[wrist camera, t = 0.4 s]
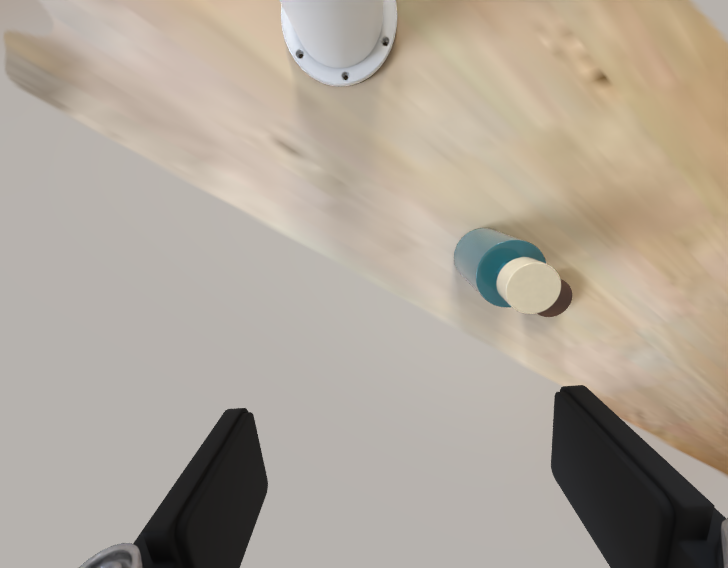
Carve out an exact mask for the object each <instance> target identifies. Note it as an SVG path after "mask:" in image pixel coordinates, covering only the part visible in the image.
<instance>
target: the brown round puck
mask: <svg viewBox="0 0 728 568" xmlns="http://www.w3.org/2000/svg"><path fill="white" fill-rule="evenodd" d="M560 280H561V279H560ZM571 300H572V290H571V288H570V286H569V285H568V284H567V283H566V282H565V281H563V280H561V291H560V294H559V296H558V298H557V300H556V301H555V302H554V304H553V305H552V306H550V307H549V308H548V309H546V310H544V311H542V312H540V313H537V314H539V315H541V316H544V317H553V316H557V315H559V314H561V313H562V312H564V311H565V310H566V309H567V308H568V306H569V305H570V303H571Z"/></svg>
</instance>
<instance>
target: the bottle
mask: <svg viewBox="0 0 728 568" xmlns="http://www.w3.org/2000/svg"><path fill="white" fill-rule="evenodd" d="M454 262H455V266H456V268H457V270H458V272H459V273H460V274H461V275H462V276H463V277H464V278H465V279H466V280H467V281H468V282H469V283H470V284H471V285H472V286H473V287H474V288H475V289H476V290H477V291H478V292H479V293H480V294H481V296H482V297H483V298H485V299H486V300H487V301H488V302H490V303H491V304H493V305H496V306H500V307H512V308H513V309H515V310H516V311H518V312H521V313H524V314H536V313H540V312H542V311H544V310H546V309H548V308H549V307H550V306H552V305H553V304H554V302H555V301H556V300H557V298H558V296H559V294H560V291H561V280H560V276H559V274H558V273H557V271H556V270H555V269H554V268H553V267H551V266H550V265H548V264H546V261H545V258H544V256H543V254H542V252H541V251H540V250H539V249H538V248H537V247H536V246H534V245H533V244H531V243H529V242H526V241H524V240H521V239H518V238H515V237H513V236H510V235H507V234H504V233H502V232H499V231H496V230H493V229H490V228H479V229H475V230H473V231H470V232H469V233H467V234H466V235H465V236H463V237H462V238H461V240H460V241H459V243H458V244H457V246H456V249H455V253H454Z"/></svg>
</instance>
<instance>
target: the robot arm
mask: <svg viewBox="0 0 728 568" xmlns="http://www.w3.org/2000/svg"><path fill="white" fill-rule="evenodd" d="M280 2H281V4H282V8H281V22H282V30H283V34H284V38H285V42H286V44H287V46H288V49H289V51H290V53H291V55H292V56H293V58H294V60H295V61H296V62H297V64H298V65H299V66H300V67H301V69H302V70H303V71H305V72H306V73H307V74H308V75H309V76H310V77H312V78H314V79H315V80H317V81H319V82H321V83H324V84H327V85H330V86H338V87H342V86H351V85H354V84H357V83H360V82H362V81H364V80H365V79H367V78H369V77H370V76H371V75H373V74H374V73H375V72H376V71H377V70H378V69H379V68H380V67H381V65H382V64H383V63H384V62H385V60H386V58H387V56H388V54H389V53H390V51H391V48H392V45H393V42H394V39H395V34H396V28H397V5H396V0H280ZM385 42H386V43H387V46H383V43H385ZM300 55H303V58H301V59H300V58H299V56H300ZM345 76H347V77H348V79H347V80H344V77H345ZM551 469H552V473H553V475H554V478H555V480H556V481H557V483H558V484H559V486H560V487H561V489H562V491H563V492H564V494H565V496H566V497H567V499H568V500H569V502H570V504H571V505H572V507H573V508H574V510H575V512H576V513H577V515H578V516H579V518H580V520H581V521H582V523H583V524H584V526H585V528H586V529H587V531H588V532H589V534H590V535H591V537H592V539H593V540H594V542H595V544H596V545H597V547H598V548H599V550H600V551H601V553H602V554H603V556H604V558H605V559H606V561H607V563H608V564H609V566H610V567H611V568H728V518H727V519H726V518H725V517H724V516H723V515H722V514H720V512H719V511H717V510H716V509H715V508H714V505H713V504H712V503H711V502H710V501H709V500H708V499H707V498H706V497H705V496H703V495H702V494H701V493H700V492H699V491H698V490H697V489H696V488H695V487H694V486H693V485H692V484H691V483H689V482H688V481H687V480H686V479H685V478H684V477H683V476H682V475H681V474H679V472H678V471H676V470H675V469H674V468H673V467H672V466H671V465H670V464H669V463H668V462H667V461H666V460H665V459H663V458H662V457H661V456H660V455H659V454H658V453H657V452H656V451H655V450H654V449H653V448H651V447H650V446H649V445H648V444H647V443H646V442H645V441H644V440H643V439H642V438H640V436H639V435H638V434H636V433H635V432H634V431H633V430H632V429H631V428H630V427H629V426H628V425H627V424H626V423H625V422H623V421H622V420H621V419H620V418H619V417H618V416H617V415H616V414H615V413H614V412H613V411H612V410H610V409H609V408H608V407H607V406H606V405H605V404H604V403H603V402H602V401H601V400H600V399H599V398H597V397H596V396H595V395H594V394H593V393H592V392H591V391H590V390H589V389H588V388H587V387H585V386H583V385H578V386H564V387H561V389H560V392H556V394H555V402H554V419H553V439H552V456H551ZM267 488H268V481H267V476H266V471H265V466H264V462H263V457H262V453H261V448H260V443H259V439H258V434H257V429H256V425H255V420H254V416H253V414H252V413H251V412H250V413H248V411H247V409H246V408H238V409H228V410H226V411H225V412H224V413H223V415H222V416H221V418H220V419H219V421H218V422H217V424H216V425H215V426H214V428H213V429H212V431H211V432H210V434H209V435H208V437H207V438H206V440H205V441H204V442H203V444H202V445H201V447H200V448H199V450H198V451H197V453H196V454H195V455H194V457H193V458H192V460H191V461H190V463H189V464H188V465H187V467H186V468H185V470H184V471H183V473H182V474H181V475H180V477H179V478H178V480H177V481H176V483H175V484H174V486H173V487H172V489H171V490H170V491H169V493H168V494H167V496H166V497H165V499H164V500H163V502H162V503H161V504H160V506H159V507H158V509H157V510H156V512H155V513H154V515H153V516H152V517H151V519H150V520H149V522H148V523H147V525H146V526H145V528H144V529H143V530H142V532H141V533H140V535H139V536H138V538H137V539H136V541H135V542H134V544H132V543H121V544H117V545H113V546H111V547H109V548H107V549H104V550H102V551H100V552H99V553H97V554H96V555H94V556H93V557H91V558H90V559H88V560H87V561H86V562H85V563H83V564H82V565H81V566H80V567H79V568H240V565H241V562H242V559H243V557H244V554H245V551H246V548H247V546H248V543H249V540H250V537H251V535H252V532H253V529H254V526H255V524H256V521H257V518H258V515H259V513H260V510H261V507H262V504H263V502H264V499H265V496H266V493H267Z"/></svg>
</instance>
